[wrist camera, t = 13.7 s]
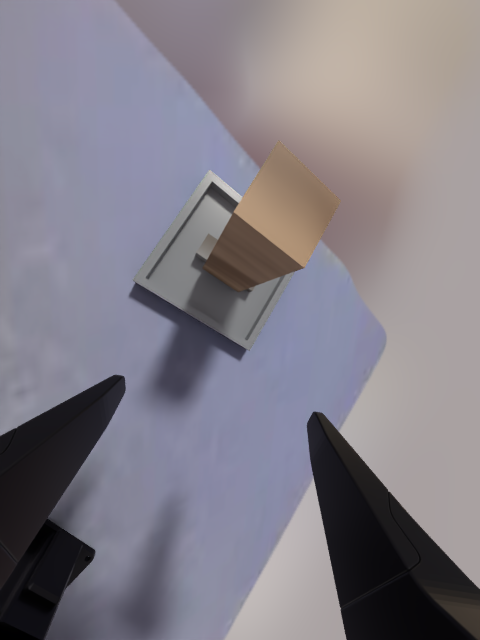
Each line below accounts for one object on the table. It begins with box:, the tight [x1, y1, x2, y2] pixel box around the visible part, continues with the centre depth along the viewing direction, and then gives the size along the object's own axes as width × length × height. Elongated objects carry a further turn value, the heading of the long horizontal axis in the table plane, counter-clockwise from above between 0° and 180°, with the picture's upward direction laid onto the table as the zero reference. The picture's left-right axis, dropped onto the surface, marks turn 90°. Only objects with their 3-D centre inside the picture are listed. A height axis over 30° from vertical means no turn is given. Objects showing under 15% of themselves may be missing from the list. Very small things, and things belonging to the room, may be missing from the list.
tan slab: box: [195, 141, 341, 292], centre depth 16 cm, size 4×7×13 cm, turn 59°
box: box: [133, 170, 294, 351], centre depth 22 cm, size 14×14×2 cm
